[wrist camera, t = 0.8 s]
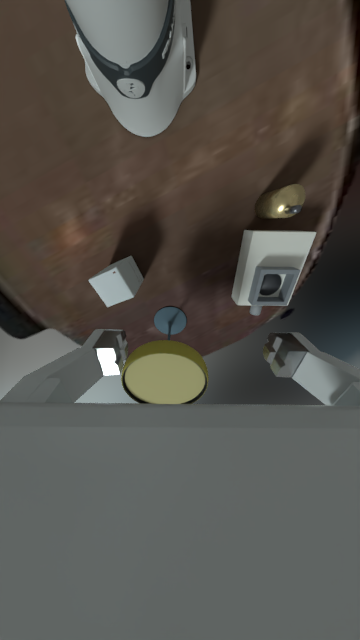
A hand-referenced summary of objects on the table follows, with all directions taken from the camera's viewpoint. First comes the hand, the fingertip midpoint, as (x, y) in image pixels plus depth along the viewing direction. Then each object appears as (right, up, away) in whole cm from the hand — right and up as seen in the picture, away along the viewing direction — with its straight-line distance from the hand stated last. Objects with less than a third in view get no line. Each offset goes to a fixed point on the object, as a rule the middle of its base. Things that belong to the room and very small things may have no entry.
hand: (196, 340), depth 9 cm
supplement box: (-16, +15, +37) cm, 43 cm away
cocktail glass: (-4, +1, +45) cm, 46 cm away
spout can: (+19, +28, +29) cm, 45 cm away
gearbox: (+22, +14, +37) cm, 46 cm away
